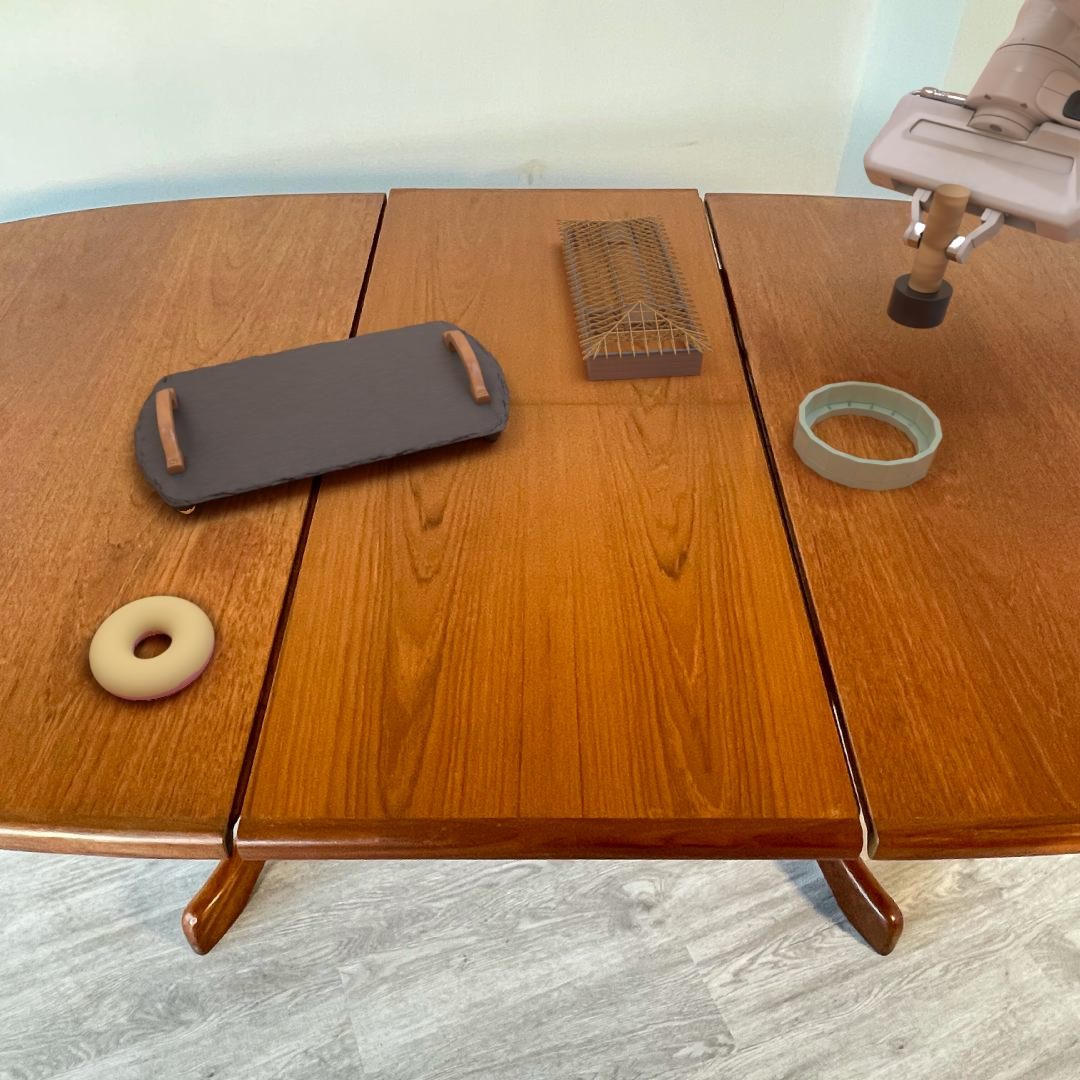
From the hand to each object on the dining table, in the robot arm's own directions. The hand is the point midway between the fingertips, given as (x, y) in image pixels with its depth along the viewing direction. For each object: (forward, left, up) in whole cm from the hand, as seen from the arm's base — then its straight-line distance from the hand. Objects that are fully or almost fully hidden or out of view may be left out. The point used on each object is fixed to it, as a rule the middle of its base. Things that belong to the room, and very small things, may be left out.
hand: (932, 252), depth 79 cm
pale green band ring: (+3, +7, -19) cm, 20 cm away
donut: (+60, +43, -19) cm, 76 cm away
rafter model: (+30, -20, -19) cm, 41 cm away
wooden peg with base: (0, -1, -7) cm, 7 cm away
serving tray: (+57, +10, -19) cm, 61 cm away
